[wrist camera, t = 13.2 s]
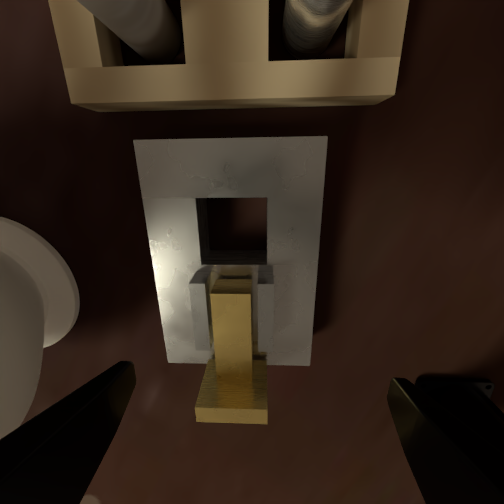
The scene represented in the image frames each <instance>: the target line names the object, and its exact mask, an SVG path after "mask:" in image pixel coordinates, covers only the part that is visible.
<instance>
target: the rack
mask: <svg viewBox="0 0 504 504" xmlns="http://www.w3.org/2000/svg"><path fill="white" fill-rule="evenodd" d="M48 1H49V6H50V10H51V15H52V19H53V24H54V28H55V33H56V37H57V42H58V46H59V51H60V55H61V60H62V64H63V68H64V73H65V77H66V82H67V86H68V91H69V95H70V100H71V104H74V105H77V106H81V107H84V108H87V109H90V110H94V111H97V112H119V111H157V110H196V109H235V108H274V107H313V106H352V105H376V104H378V103H380V102H382V101H384V100H386V99H388V98H390V97H392V96H393V95H395V90H396V84H397V77H398V71H399V64H400V57H401V51H402V44H403V38H404V31H405V24H406V18H407V11H408V5H409V0H353V1H352V3H351V5H350V7H349V11H348V22H347V33H346V44H345V55H344V59H321V60H292V61H268V18H269V0H180V1H181V13H182V24H183V36H184V48H185V59H186V64H175V65H163V64H166V63H169V62H170V61H171V60H173V59H174V57H175V56H176V55H177V53H178V51H179V48H180V44H181V31H180V27H179V24H178V21H177V19H176V18H175V16H174V14H173V13H172V11H171V9H170V8H169V6H168V4H167V3H166V1H165V0H48ZM120 38H121V39H122V40H123V41H124V42H125V43H126V44H128V45H129V46H130V47H131V48H132V49H133V50H134V51H136V52H137V53H138V54H139V55H140V56H141V57H142V58H144V59H145V60H146V61H148V62H150V63H152V64H155V65H146V66H124V64H123V58H122V51H121V45H120Z"/></svg>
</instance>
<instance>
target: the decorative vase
mask: <svg viewBox="0 0 504 504" xmlns="http://www.w3.org/2000/svg"><path fill="white" fill-rule="evenodd" d="M79 307H80V299H79V291H78V287H77V284H76V281H75V278H74V276H73V274H72V272H71V270H70V268H69V267H68V265H67V263H66V262H65V261H64V259H63V258H62V257H61V255H60V254H59V253H58V252H57V251H56V250H55V248H54V247H53V246H52V245H50V244H49V243H48V242H47V241H46V240H45V239H44V238H42V237H41V236H40V235H38V234H37V233H36V232H34V231H32V230H31V229H29V228H27V227H26V226H24V225H22V224H20V223H18V222H15V221H13V220H10V219H7V218H4V217H0V439H1V438H3V437H4V436H6V435H7V434H9V433H10V432H12V431H14V430H15V429H17V428H18V427H19V426H20V425H21V423H22V421H23V420H24V418H25V416H26V414H27V412H28V410H29V408H30V406H31V404H32V401H33V398H34V395H35V392H36V389H37V385H38V381H39V376H40V371H41V364H42V356H43V348H45V347H48V346H50V345H52V344H54V343H56V342H58V341H59V340H60V339H62V338H63V337H64V336H65V335H66V334H67V333H68V332H69V331H70V330H71V329H72V327H73V326H74V324H75V322H76V320H77V317H78V313H79Z"/></svg>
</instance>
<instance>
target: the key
mask: <svg viewBox="0 0 504 504" xmlns="http://www.w3.org/2000/svg"><path fill="white" fill-rule="evenodd" d="M210 299H211V312H212V325H213V337H214V350H215V359H208V363H207V366H206V370H205V373H204V377H203V381H202V384H201V388H200V391H199V395H198V398H197V402H196V405H195V413H196V421H197V422H219V423H249V424H267V360H253V308H252V279H216V281H215V283H214V285H213V288H212V290H211V293H210Z"/></svg>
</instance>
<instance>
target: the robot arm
mask: <svg viewBox="0 0 504 504" xmlns="http://www.w3.org/2000/svg"><path fill="white" fill-rule="evenodd" d="M135 385H136V375H135V369H134V364H133V362H131V361H120V362H118V363H117V364H115V365H113V366H112V367H110V368H109V369H107V370H106V371H104V372H103V373H101V374H100V375H98V376H97V377H95V378H93V379H92V380H90V381H89V382H87V383H86V384H84V385H83V386H81V387H80V388H78V389H77V390H75V391H73V392H72V393H70V394H69V395H67V396H66V397H64V398H63V399H61V400H60V401H58V402H57V403H55V404H53V405H52V406H50V407H49V408H47V409H46V410H44V411H43V412H41V413H40V414H38V415H37V416H35V417H34V418H32V419H30V420H29V421H27V422H26V423H24V424H23V425H21V426H20V427H18V428H17V429H15V430H14V431H12V432H10V433H9V434H7V435H6V436H4V437H3V438H1V439H0V504H80V502H81V500H82V498H83V496H84V494H85V492H86V490H87V488H88V486H89V484H90V482H91V480H92V479H93V477H94V475H95V473H96V471H97V469H98V467H99V465H100V463H101V461H102V459H103V457H104V455H105V453H106V451H107V450H108V448H109V446H110V444H111V442H112V440H113V438H114V436H115V434H116V432H117V429H118V427H119V425H120V422H121V420H122V417H123V415H124V412H125V410H126V407H127V405H128V403H129V400H130V398H131V395H132V393H133V390H134V388H135ZM494 387H495V385H494V384H493V383H492V382H491V381H490V380H488V379H458V378H419V379H417V380H416V383H415V385H414V384H413V383H411V382H410V381H409V380H407V379H405V378H392V380H391V383H390V387H389V391H388V395H387V401H388V405H389V408H390V411H391V414H392V417H393V420H394V423H395V426H396V429H397V432H398V435H399V438H400V441H401V445H402V447H403V450H404V453H405V456H406V458H407V461H408V463H409V466H410V468H411V470H412V472H413V475H414V477H415V479H416V482H417V484H418V486H419V489H420V491H421V493H422V496H423V498H424V500H425V503H426V504H504V413H503V412H502V411H501V410H500V409H499V408H498V407H497V406H496V405H495V404H494V403H493V402H492V401H491V400H490V397H491V395H492V392H493V390H494Z"/></svg>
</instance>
